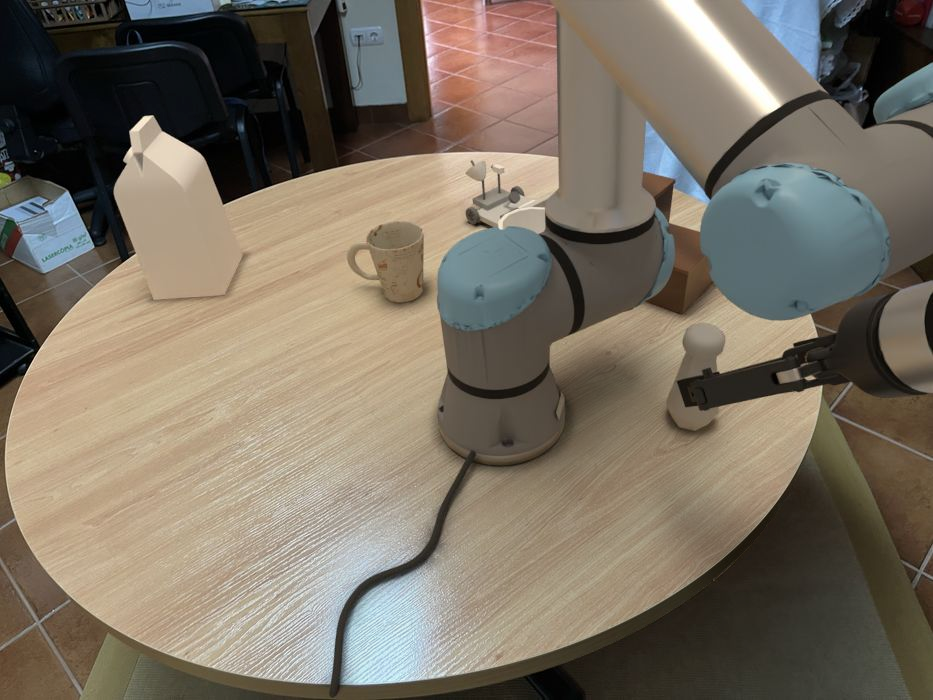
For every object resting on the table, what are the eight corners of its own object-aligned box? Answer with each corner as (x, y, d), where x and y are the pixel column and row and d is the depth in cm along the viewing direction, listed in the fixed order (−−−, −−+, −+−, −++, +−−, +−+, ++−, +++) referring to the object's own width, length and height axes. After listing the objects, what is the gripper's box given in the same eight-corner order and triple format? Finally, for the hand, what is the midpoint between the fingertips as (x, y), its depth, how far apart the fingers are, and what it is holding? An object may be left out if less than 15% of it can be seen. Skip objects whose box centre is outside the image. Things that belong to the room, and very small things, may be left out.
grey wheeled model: (451, 165, 118) (501, 144, 123) (456, 216, 124) (504, 194, 129) (524, 197, 106) (576, 172, 112) (526, 252, 113) (575, 226, 118)
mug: (423, 309, 102) (414, 250, 96) (343, 304, 105) (330, 247, 99) (436, 278, 109) (429, 221, 102) (360, 274, 111) (349, 219, 105)
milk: (224, 295, 109) (167, 136, 93) (153, 299, 110) (84, 143, 94) (243, 255, 119) (193, 105, 102) (177, 259, 119) (118, 111, 103)
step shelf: (682, 315, 96) (695, 224, 87) (583, 280, 105) (586, 194, 96) (714, 281, 102) (730, 192, 93) (618, 250, 111) (624, 166, 102)
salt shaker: (685, 394, 84) (699, 308, 76) (726, 418, 81) (746, 330, 72) (654, 417, 82) (666, 331, 73) (695, 443, 78) (712, 355, 70)
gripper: (787, 446, 45) (645, 447, 66) (1072, 344, 50) (858, 374, 71) (750, 337, 46) (620, 372, 66) (1035, 247, 51) (833, 306, 72)
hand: (743, 373), depth 69 cm, fingers open, 13 cm apart
